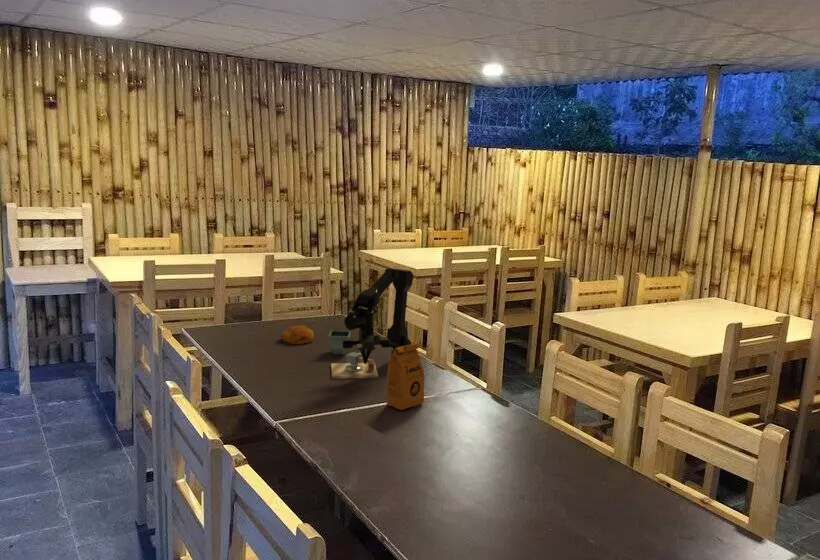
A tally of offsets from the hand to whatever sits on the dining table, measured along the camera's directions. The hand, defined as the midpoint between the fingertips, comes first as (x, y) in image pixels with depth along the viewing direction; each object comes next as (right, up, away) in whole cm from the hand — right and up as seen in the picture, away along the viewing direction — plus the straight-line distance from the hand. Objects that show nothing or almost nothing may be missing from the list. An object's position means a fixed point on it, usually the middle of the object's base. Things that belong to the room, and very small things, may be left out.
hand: (365, 363), depth 260 cm
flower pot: (-13, +1, +31) cm, 33 cm away
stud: (-5, -4, +6) cm, 9 cm away
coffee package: (+16, -11, -29) cm, 35 cm away
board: (-5, -4, +6) cm, 9 cm away
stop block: (+2, -4, +5) cm, 7 cm away
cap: (-2, 0, +4) cm, 4 cm away
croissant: (-35, +4, +48) cm, 59 cm away
